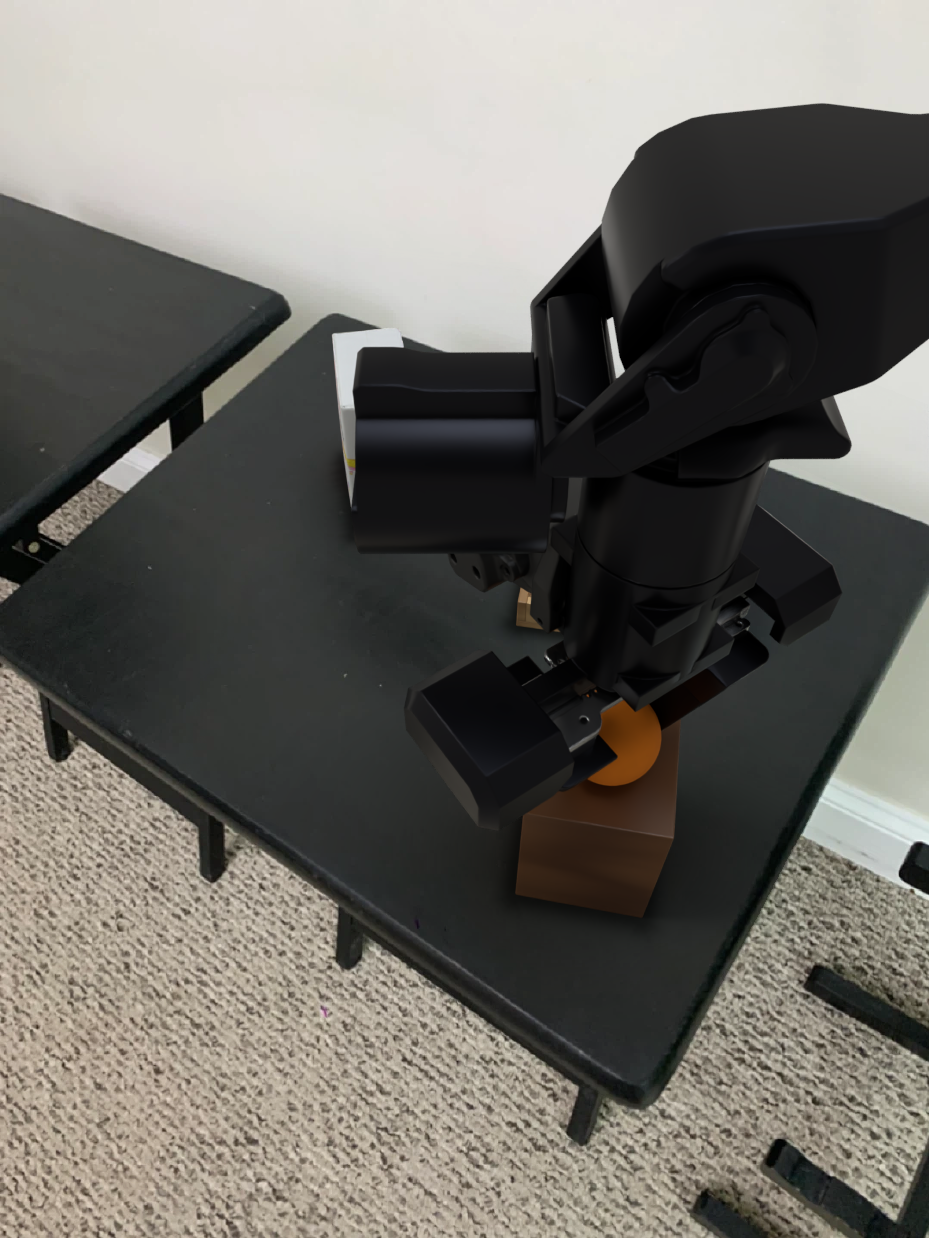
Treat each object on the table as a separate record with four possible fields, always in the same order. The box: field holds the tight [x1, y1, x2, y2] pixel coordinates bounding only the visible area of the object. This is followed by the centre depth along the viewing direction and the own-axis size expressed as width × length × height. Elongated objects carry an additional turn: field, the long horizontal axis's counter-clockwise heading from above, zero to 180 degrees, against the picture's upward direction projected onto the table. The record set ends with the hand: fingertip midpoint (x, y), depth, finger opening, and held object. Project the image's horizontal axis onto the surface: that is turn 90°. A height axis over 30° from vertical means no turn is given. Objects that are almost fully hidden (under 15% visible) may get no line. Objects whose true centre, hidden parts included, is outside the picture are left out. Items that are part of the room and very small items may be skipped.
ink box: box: [331, 327, 405, 506], centre depth 66 cm, size 9×5×12 cm, turn 9°
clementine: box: [587, 690, 661, 786], centre depth 43 cm, size 5×5×5 cm
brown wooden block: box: [515, 718, 682, 919], centre depth 49 cm, size 7×7×10 cm
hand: (607, 753), depth 44 cm, fingers closed on clementine, 4 cm apart
